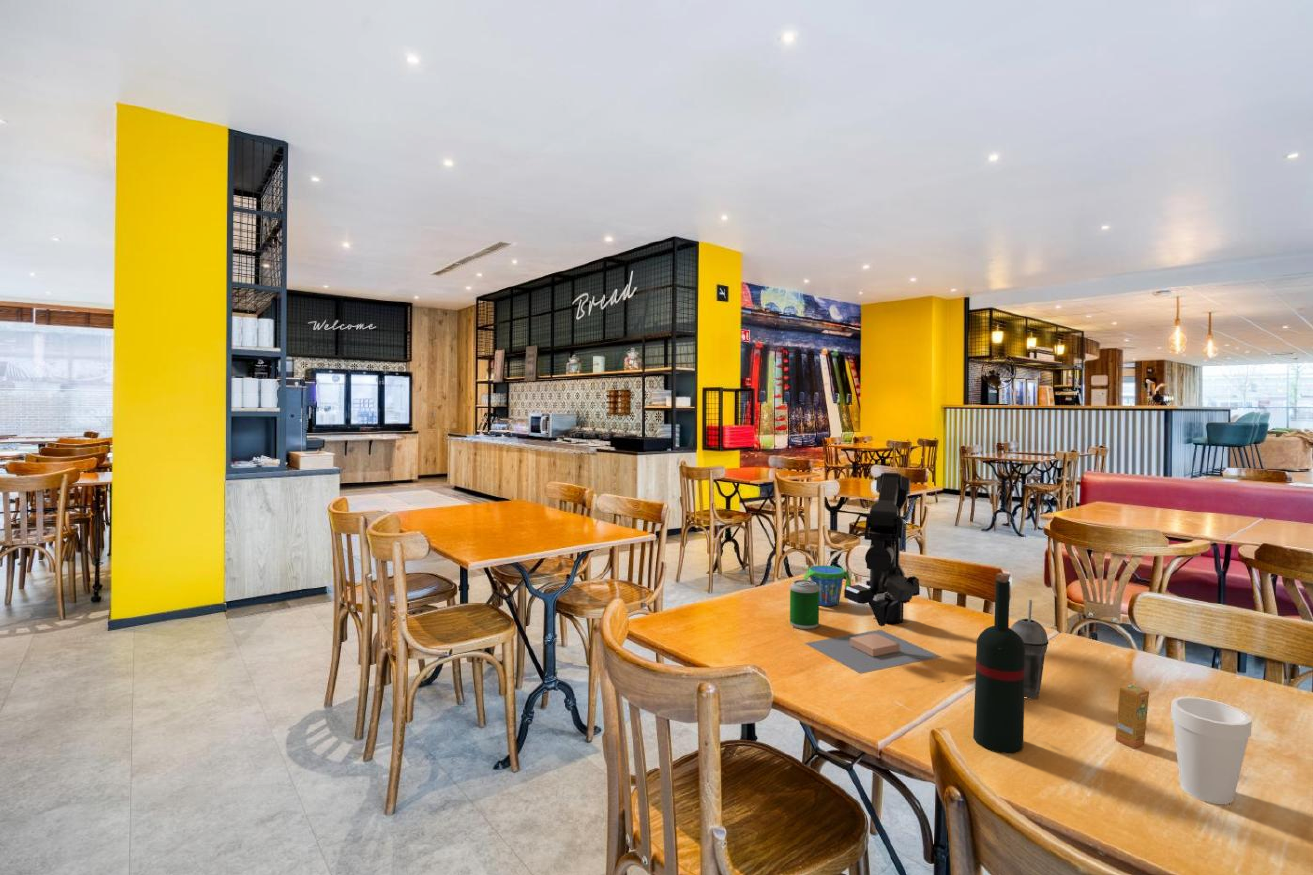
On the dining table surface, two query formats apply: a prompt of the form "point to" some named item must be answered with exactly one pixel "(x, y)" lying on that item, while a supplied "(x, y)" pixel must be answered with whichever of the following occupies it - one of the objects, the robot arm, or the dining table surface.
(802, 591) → the soda can
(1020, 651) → the wine bottle
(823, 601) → the snack cup
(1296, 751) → the dining table surface
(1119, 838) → the dining table surface
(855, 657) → the slate mat
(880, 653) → the terracotta tile
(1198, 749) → the foam cup
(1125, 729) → the supplement box
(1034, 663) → the beverage cup
